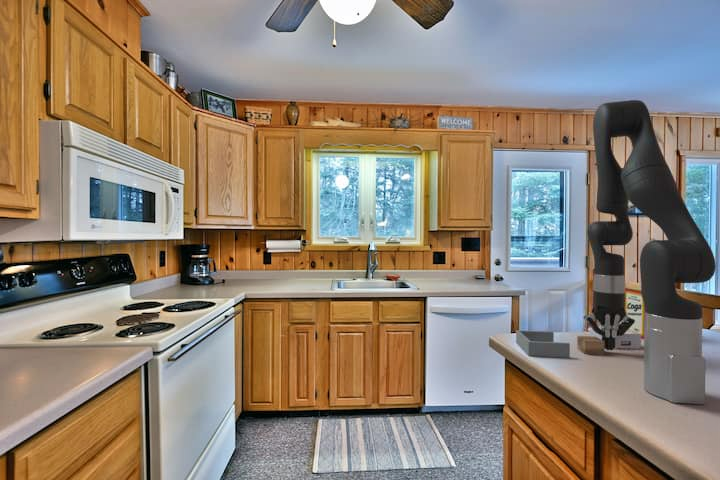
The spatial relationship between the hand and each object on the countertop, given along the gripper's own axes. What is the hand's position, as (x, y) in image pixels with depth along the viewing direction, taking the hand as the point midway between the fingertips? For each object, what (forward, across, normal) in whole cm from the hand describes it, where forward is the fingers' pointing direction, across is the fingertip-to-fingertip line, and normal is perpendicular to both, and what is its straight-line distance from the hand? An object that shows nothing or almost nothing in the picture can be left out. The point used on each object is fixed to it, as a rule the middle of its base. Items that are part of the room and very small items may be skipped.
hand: (608, 349), depth 99 cm
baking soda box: (+1, +21, +20) cm, 29 cm away
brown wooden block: (+1, -5, 0) cm, 5 cm away
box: (+1, -18, 0) cm, 18 cm away
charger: (+2, +6, +12) cm, 13 cm away
